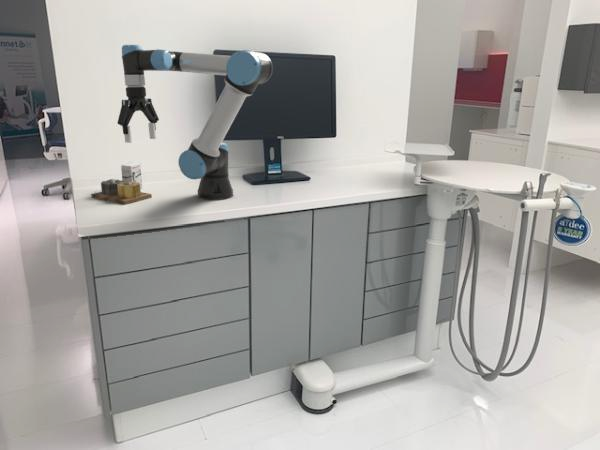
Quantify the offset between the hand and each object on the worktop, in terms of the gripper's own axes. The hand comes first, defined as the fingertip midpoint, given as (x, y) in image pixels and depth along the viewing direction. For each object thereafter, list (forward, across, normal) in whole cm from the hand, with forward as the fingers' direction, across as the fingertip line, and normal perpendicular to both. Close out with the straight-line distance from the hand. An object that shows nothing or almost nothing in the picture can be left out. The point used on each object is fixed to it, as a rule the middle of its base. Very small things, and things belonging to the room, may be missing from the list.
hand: (141, 140), depth 196 cm
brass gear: (+22, +7, -3) cm, 23 cm away
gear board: (+23, +6, -8) cm, 25 cm away
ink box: (+23, -6, -14) cm, 28 cm away
